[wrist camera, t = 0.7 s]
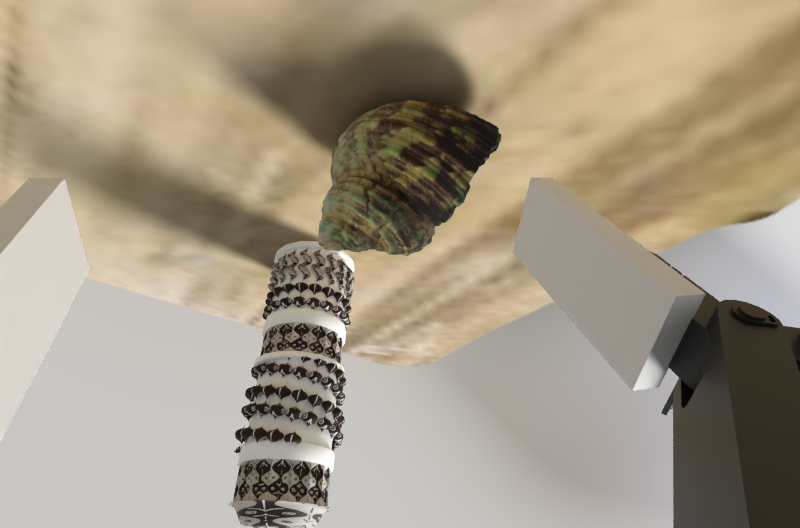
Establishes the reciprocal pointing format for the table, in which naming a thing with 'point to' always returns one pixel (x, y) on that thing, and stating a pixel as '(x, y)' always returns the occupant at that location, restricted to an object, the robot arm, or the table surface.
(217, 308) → the table surface
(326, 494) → the white patterned cylinder
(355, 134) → the seashell
